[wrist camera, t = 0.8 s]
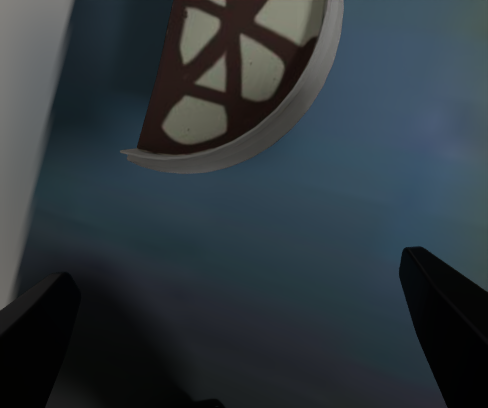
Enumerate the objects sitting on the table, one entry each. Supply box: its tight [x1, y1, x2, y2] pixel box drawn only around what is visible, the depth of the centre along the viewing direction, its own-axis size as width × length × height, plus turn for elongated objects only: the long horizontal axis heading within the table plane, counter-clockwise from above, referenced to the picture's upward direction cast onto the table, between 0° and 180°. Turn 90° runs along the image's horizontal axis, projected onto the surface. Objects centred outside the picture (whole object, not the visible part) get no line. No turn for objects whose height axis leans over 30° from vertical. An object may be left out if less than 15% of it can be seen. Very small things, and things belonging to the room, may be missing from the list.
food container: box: [120, 0, 344, 174], centre depth 16 cm, size 12×6×10 cm, turn 161°
